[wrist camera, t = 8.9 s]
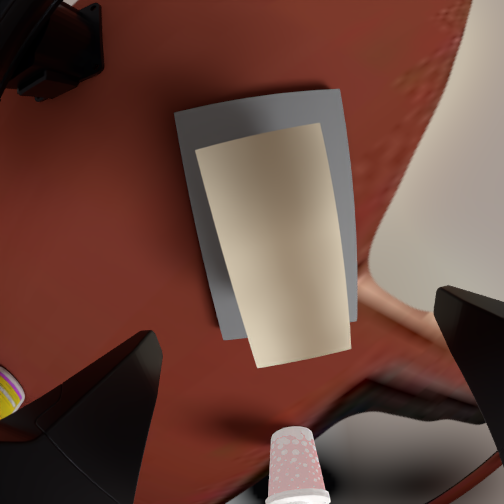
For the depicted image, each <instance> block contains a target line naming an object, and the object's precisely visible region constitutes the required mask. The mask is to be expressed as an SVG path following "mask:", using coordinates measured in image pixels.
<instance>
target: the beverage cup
mask: <svg viewBox="0 0 504 504" xmlns="http://www.w3.org/2000/svg"><path fill="white" fill-rule="evenodd" d="M265 502H266V504H329V503H330V497H329V492H328V491H326V490H325V487H324V482H323V477H322V473H321V469H320V464H319V461H318V456H317V452H316V448H315V443H314V439H313V435H312V431H310V430H309V429H308V428H305V427H301V426H292V427H286V428H283V429H280V430H278V431H276V432H275V433H274V434H273V435H272V438H271V452H270V473H269V492H268V498H267V499H266V501H265Z"/></svg>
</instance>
